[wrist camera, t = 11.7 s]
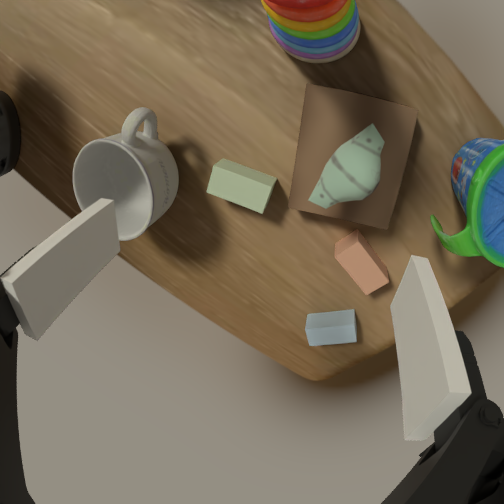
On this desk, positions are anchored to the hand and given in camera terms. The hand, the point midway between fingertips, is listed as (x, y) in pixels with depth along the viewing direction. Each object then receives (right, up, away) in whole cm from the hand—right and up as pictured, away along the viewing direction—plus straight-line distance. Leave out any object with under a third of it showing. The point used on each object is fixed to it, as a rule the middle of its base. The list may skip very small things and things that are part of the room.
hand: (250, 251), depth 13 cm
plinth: (+10, +10, +16) cm, 21 cm away
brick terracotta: (+12, 0, +21) cm, 24 cm away
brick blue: (+10, -9, +27) cm, 30 cm away
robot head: (+9, +8, +14) cm, 18 cm away
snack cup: (+23, +8, +13) cm, 28 cm away
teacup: (-11, +11, +21) cm, 26 cm away
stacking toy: (+6, +21, +10) cm, 24 cm away
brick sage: (-1, +8, +20) cm, 21 cm away
